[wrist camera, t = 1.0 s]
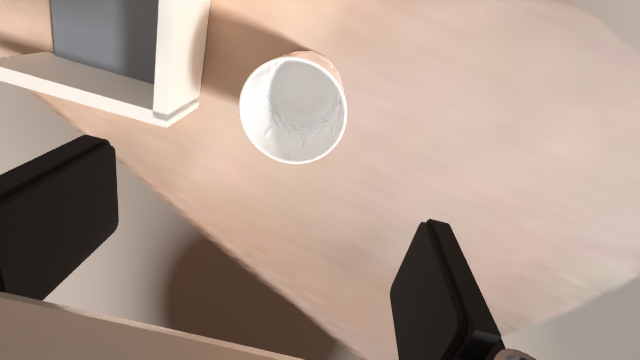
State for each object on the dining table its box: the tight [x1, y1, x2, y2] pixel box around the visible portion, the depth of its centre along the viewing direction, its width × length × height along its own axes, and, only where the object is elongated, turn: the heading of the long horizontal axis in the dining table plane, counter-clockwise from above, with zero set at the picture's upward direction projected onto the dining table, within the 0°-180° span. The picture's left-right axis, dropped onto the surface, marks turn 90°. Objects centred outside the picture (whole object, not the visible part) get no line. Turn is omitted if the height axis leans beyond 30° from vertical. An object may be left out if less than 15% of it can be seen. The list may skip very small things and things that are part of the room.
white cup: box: [239, 51, 347, 164], centre depth 29 cm, size 8×8×10 cm
